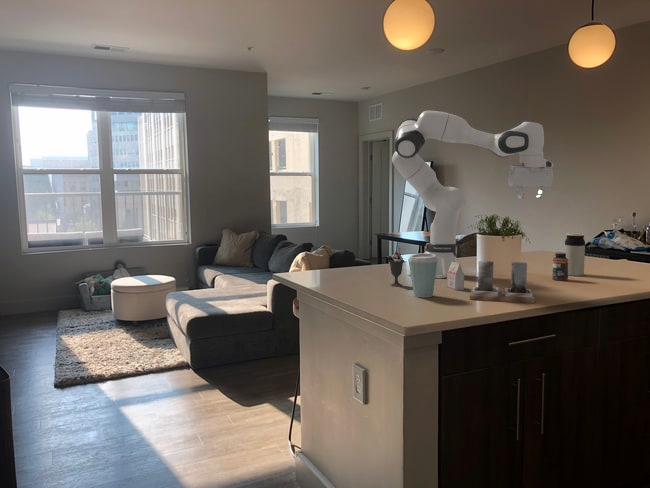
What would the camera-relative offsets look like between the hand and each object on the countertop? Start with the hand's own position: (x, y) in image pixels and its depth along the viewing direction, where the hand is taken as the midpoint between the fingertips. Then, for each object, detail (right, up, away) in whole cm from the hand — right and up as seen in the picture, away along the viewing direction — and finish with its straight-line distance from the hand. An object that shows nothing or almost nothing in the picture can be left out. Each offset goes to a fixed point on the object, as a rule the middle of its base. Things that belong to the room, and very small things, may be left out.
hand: (530, 198), depth 209 cm
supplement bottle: (+16, -33, +9) cm, 38 cm away
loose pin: (-15, -36, -27) cm, 47 cm away
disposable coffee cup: (-47, -37, -20) cm, 63 cm away
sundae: (-53, -35, +1) cm, 64 cm away
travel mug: (+27, -32, +21) cm, 47 cm away
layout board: (-20, -37, -25) cm, 49 cm away
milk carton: (-32, -36, -7) cm, 48 cm away
